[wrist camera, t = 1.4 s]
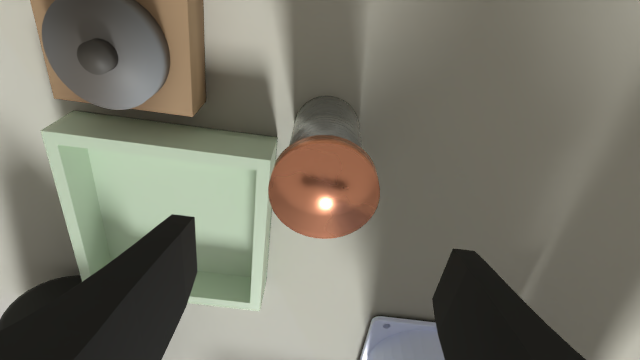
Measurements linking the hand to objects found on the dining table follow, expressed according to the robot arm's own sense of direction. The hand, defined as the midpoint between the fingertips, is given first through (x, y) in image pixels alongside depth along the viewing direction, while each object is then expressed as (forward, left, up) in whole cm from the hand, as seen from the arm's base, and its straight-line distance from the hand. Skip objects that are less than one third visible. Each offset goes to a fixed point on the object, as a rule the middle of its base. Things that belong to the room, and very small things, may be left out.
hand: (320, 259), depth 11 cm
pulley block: (+9, -3, -10) cm, 13 cm away
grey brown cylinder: (0, 0, -10) cm, 10 cm away
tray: (+7, +6, -10) cm, 14 cm away
